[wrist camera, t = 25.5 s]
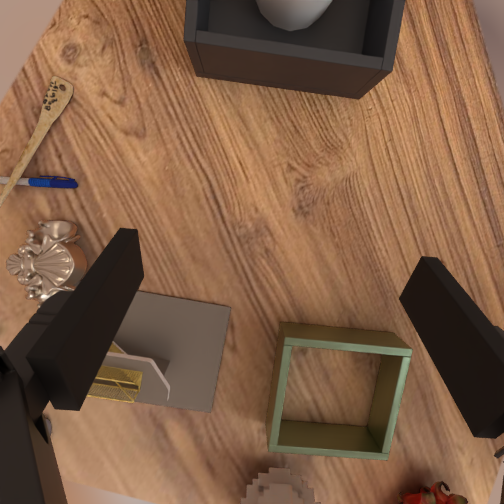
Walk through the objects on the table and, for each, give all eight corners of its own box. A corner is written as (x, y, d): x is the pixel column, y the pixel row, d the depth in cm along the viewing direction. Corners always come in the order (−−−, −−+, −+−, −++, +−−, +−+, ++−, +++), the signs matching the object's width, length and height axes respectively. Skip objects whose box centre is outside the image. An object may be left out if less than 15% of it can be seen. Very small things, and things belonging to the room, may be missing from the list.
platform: (45, 274, 28) (-13, 297, 22) (231, 307, 30) (228, 337, 23) (36, 386, 30) (-20, 437, 24) (210, 412, 32) (202, 468, 25)
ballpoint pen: (80, 189, 27) (79, 177, 27) (75, 188, 27) (74, 177, 26) (-40, 181, 27) (-42, 170, 27) (-50, 181, 26) (-51, 169, 26)
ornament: (29, 222, 28) (-10, 217, 25) (94, 220, 28) (64, 214, 24) (28, 306, 28) (-11, 312, 25) (94, 307, 27) (64, 314, 24)
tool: (-21, 213, 26) (2, 224, 26) (-28, 212, 25) (-4, 224, 25) (57, 77, 26) (79, 90, 26) (52, 72, 25) (75, 85, 26)
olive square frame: (394, 332, 31) (413, 349, 27) (372, 433, 33) (387, 460, 29) (279, 321, 30) (284, 336, 27) (265, 425, 32) (268, 452, 29)
